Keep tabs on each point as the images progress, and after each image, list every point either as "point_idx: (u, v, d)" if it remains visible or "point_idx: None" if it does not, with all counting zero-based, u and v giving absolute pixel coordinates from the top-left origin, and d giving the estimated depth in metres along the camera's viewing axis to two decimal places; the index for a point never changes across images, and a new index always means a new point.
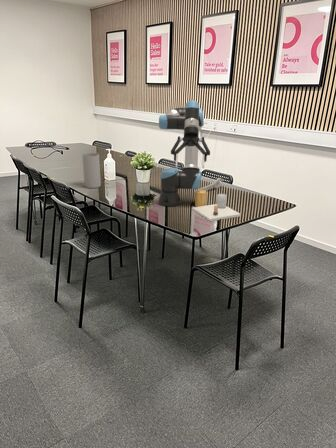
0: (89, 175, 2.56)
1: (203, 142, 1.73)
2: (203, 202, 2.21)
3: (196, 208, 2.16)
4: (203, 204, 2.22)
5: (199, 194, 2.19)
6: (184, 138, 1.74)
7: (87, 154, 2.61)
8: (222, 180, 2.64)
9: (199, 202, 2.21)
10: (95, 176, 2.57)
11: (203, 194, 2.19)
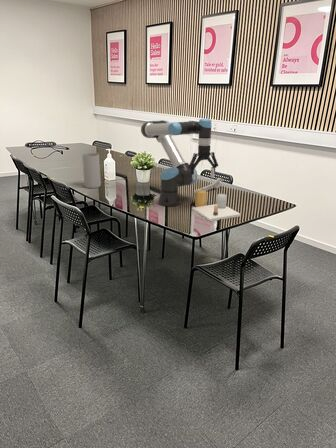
0: (89, 175, 2.56)
1: (213, 157, 2.13)
2: (203, 202, 2.21)
3: (196, 208, 2.16)
4: (203, 204, 2.22)
5: (199, 194, 2.19)
6: (200, 155, 2.09)
7: (87, 154, 2.61)
8: (222, 180, 2.64)
9: (199, 202, 2.21)
10: (95, 176, 2.57)
11: (203, 194, 2.19)
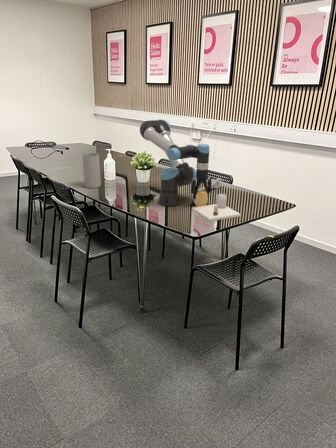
0: (89, 175, 2.56)
1: (209, 182, 2.21)
2: (203, 202, 2.21)
3: (196, 208, 2.16)
4: (203, 204, 2.22)
5: (199, 194, 2.19)
6: (198, 178, 2.16)
7: (87, 154, 2.61)
8: (222, 180, 2.64)
9: (199, 202, 2.21)
10: (95, 176, 2.57)
11: (203, 194, 2.19)
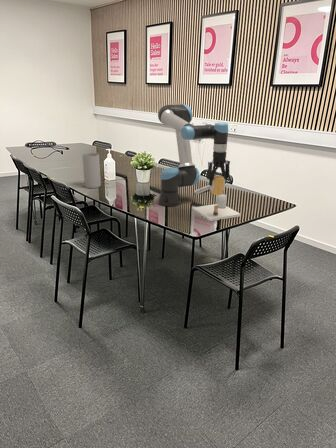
0: (89, 175, 2.56)
1: (228, 166, 1.96)
2: (220, 189, 1.96)
3: (196, 208, 2.16)
4: (220, 191, 1.97)
5: (216, 180, 1.94)
6: (215, 162, 1.91)
7: (87, 154, 2.61)
8: None
9: (216, 189, 1.96)
10: (95, 176, 2.57)
11: (220, 180, 1.94)
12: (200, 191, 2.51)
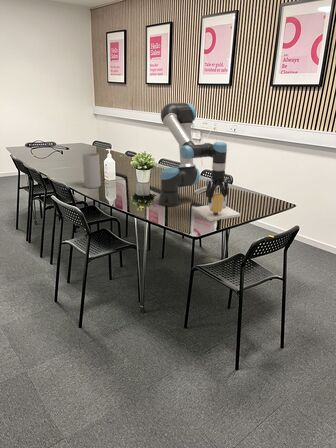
0: (89, 175, 2.56)
1: (226, 184, 2.00)
2: (219, 206, 2.00)
3: (196, 208, 2.16)
4: (219, 209, 2.01)
5: (215, 198, 1.98)
6: (214, 180, 1.95)
7: (87, 154, 2.61)
8: None
9: (215, 206, 2.00)
10: (95, 176, 2.57)
11: (219, 198, 1.98)
12: (200, 191, 2.51)
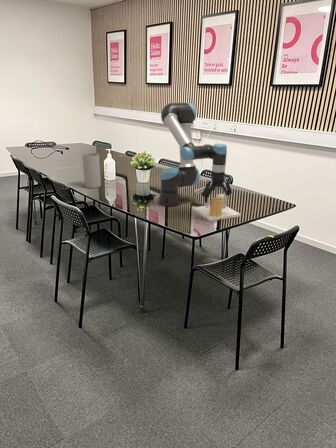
0: (89, 175, 2.56)
1: (227, 184, 2.00)
2: (219, 211, 2.02)
3: (196, 208, 2.16)
4: (218, 213, 2.02)
5: (214, 202, 1.99)
6: (213, 182, 1.96)
7: (87, 154, 2.61)
8: None
9: (214, 211, 2.01)
10: (95, 176, 2.57)
11: (219, 202, 1.99)
12: (200, 191, 2.51)
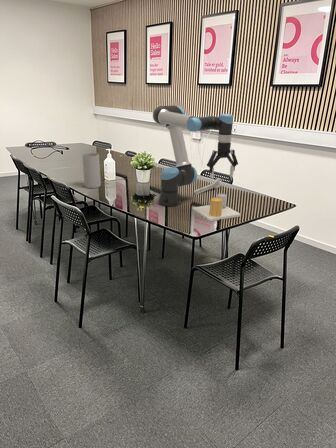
0: (89, 175, 2.56)
1: (233, 155, 2.01)
2: (219, 211, 2.02)
3: (196, 208, 2.16)
4: (218, 213, 2.02)
5: (214, 202, 1.99)
6: (219, 152, 1.97)
7: (87, 154, 2.61)
8: (221, 180, 2.64)
9: (214, 211, 2.01)
10: (95, 176, 2.57)
11: (219, 202, 1.99)
12: (200, 191, 2.51)
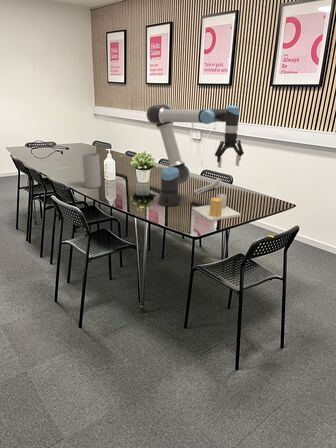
0: (89, 175, 2.56)
1: (239, 145, 2.12)
2: (219, 211, 2.02)
3: (196, 208, 2.16)
4: (218, 213, 2.02)
5: (214, 202, 1.99)
6: (226, 142, 2.07)
7: (87, 154, 2.61)
8: (221, 180, 2.63)
9: (214, 211, 2.01)
10: (95, 176, 2.57)
11: (219, 202, 1.99)
12: (200, 191, 2.51)
